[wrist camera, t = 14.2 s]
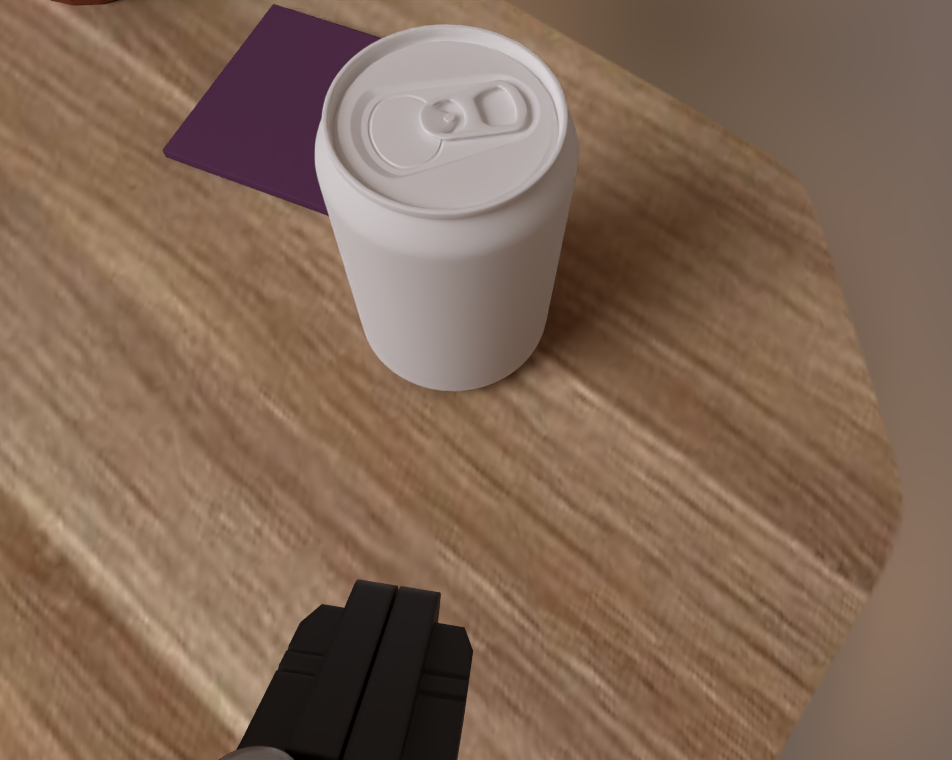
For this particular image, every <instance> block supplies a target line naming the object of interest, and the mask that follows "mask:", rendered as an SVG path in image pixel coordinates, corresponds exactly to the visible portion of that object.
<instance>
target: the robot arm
mask: <svg viewBox="0 0 952 760" xmlns="http://www.w3.org/2000/svg"><path fill="white" fill-rule="evenodd" d="M440 598H441V593H440V592H434V591H428V590H422V589H415V588H409V587H403V586H400V588H399V590H398V586H396V585H390V584H384V583H377V582H371V581H365V580H359V579H358V580H357V581H356V582H355V584H354V586H353V589H352V591H351V594H350V596H349V598H348V601H347V603H346V605H345V608H342V607H336V606H330V605H324V604H322V605H320V606H319V607H318V608H317V609H316V610H314V611H313V612H312V613H311V614H310V615H309V616H307V617H306V618H305V619H304V620H303V621H301V622H300V624H299V626H298V628H297V630H296V632H295V634H294V636H293V638H292V640H291V642H290V644H289V647H288V651H286V652H285V654H284V656H283V658H282V660H281V662H280V664H279V668H278V671H277V670H276V672H275V674H274V676H273V678H272V680H271V682H270V684H269V686H268V688H267V690H266V692H265V694H264V696H263V698H262V700H261V702H260V704H259V706H258V708H257V710H256V712H255V714H254V716H253V718H252V720H251V722H250V724H249V726H248V728H247V730H246V732H245V734H244V736H243V738H242V740H241V742H240V744H239V746H238V748H237V749H236V751H233V752H231V753H229V754H227V755H225V756H223V757H222V758H220V759H219V760H457V759H458V752H459V746H460V740H461V733H462V727H463V720H464V713H465V706H466V699H467V692H468V684H469V677H470V670H471V663H472V656H473V649H472V647H471V644H470V641H469V638H468V636H467V633H466V630H465V627H459V626H453V625H446V624H440V623H438V617H439V608H440Z"/></svg>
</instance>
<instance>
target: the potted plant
mask: <svg viewBox="0 0 952 760" xmlns="http://www.w3.org/2000/svg"><path fill="white" fill-rule="evenodd" d="M52 1H57V2H62V3H67V4H72V5H82V4H104V3H108V2H112V1H116V0H52Z"/></svg>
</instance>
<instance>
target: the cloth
mask: <svg viewBox="0 0 952 760" xmlns="http://www.w3.org/2000/svg"><path fill="white" fill-rule="evenodd" d="M380 39H382V38H379V37H376V36H373V35H370V34H367V33H363V32H360V31H357V30H354V29H351V28H348V27H344V26H341V25H338V24H335V23H332V22H329V21H326V20H322V19H319V18H316V17H313V16H310V15H307V14H303V13H300V12H297V11H294V10H291V9H288V8H284V7H281V6H278V5H275V4H273V5H272V6H271V8H270V9H269V10H268V12H267V13H266V14H265V16H264V17H263V18H262V20H261V21H260V22H259V24H258V25H257V26H256V28H255V29H254V30H253V31H252V33H251V34H250V35H249V37H248V38H247V39H246V41H245V42H244V43H243V45H242V46H241V47H240V49H239V50H238V51H237V53H236V54H235V55H234V57H233V58H232V59H231V60H230V62H229V63H228V64H227V66H226V67H225V68H224V70H223V71H222V72H221V74H220V75H219V76H218V78H217V79H216V80H215V82H214V83H213V84H212V85H211V87H210V88H209V89H208V91H207V92H206V93H205V95H204V96H203V97H202V99H201V100H200V101H199V103H198V104H197V105H196V107H195V108H194V109H193V111H192V112H191V113H190V114H189V116H188V117H187V118H186V120H185V121H184V122H183V124H182V125H181V126H180V128H179V129H178V130H177V132H176V133H175V134H174V136H173V137H172V138H171V139H170V141H169V142H168V143H167V145H166V146H165V147H164V149H163V152H164V154H165V156H166V157H168V158H171V159H173V160H176V161H179V162H182V163H185V164H187V165H190V166H193V167H196V168H198V169H201V170H204V171H207V172H209V173H212V174H215V175H218V176H220V177H223V178H226V179H229V180H231V181H234V182H237V183H240V184H243V185H245V186H248V187H251V188H254V189H256V190H259V191H262V192H265V193H267V194H270V195H273V196H276V197H278V198H281V199H284V200H287V201H289V202H292V203H295V204H298V205H301V206H303V207H306V208H309V209H312V210H314V211H317V212H320V213H323V214H325V215H328V211H327V208H326V205H325V201H324V198H323V195H322V192H321V188H320V185H319V181H318V178H317V173H316V167H315V142H316V136H317V131H318V127H319V124H320V121H321V119H322V110H323V105H324V101H325V98H326V95H327V92H328V90H329V88H330V86H331V84H332V82H333V80H334V79H335V77H336V75H337V74H338V73H339V71H340V70H341V69H342V68H343V67H344V65H345V64H346V63H347V62H348V61H349V60H350V59H351V58H353V57H354V56H355V55H356V54H357V53H359V52H360V51H361V50H363V49H364V48H366V47H367V46H369V45H370V44H372V43H374V42H376V41H378V40H380ZM328 216H329V215H328Z"/></svg>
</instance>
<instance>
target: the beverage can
mask: <svg viewBox="0 0 952 760" xmlns="http://www.w3.org/2000/svg"><path fill="white" fill-rule="evenodd" d="M578 157H579V150H578V139H577V134H576V129H575V126H574V123H573V120H572V117H571V115H570V112H569V110H568V107H567V102H566V98H565V95H564V92H563V90H562V87H561V85H560V83H559V81H558V79H557V78H556V76H555V75H554V73H553V72H552V71H551V69H550V68H549V67H548V66H547V64H546V63H545V62H544V61H543V60H542V59H541V58H540V57H538V56H537V55H536V54H535V53H534V52H532V51H531V50H530V49H528V48H527V47H525V46H524V45H522V44H520V43H519V42H517V41H515V40H513V39H511V38H509V37H506V36H504V35H502V34H499V33H496V32H493V31H490V30H486V29H482V28H478V27H472V26H465V25H451V24H443V25H428V26H421V27H416V28H411V29H407V30H403V31H400V32H397V33H394V34H391V35H389V36H386V37H384V38H382V39H380V40H378V41H376V42H374V43H372V44H370V45H369V46H367V47H366V48H364V49H363V50H361V51H360V52H359V53H357V54H356V55H355V56H354V57H353V58H351V59H350V60H349V61H348V62H347V63H346V64H345V65H344V67H343V68H342V69H341V70H340V71H339V73H338V74H337V75H336V77H335V79H334V80H333V82H332V84H331V86H330V88H329V90H328V92H327V95H326V98H325V101H324V105H323V110H322V119H321V121H320V124H319V127H318V131H317V136H316V142H315V167H316V173H317V178H318V181H319V185H320V188H321V192H322V195H323V198H324V201H325V205H326V208H327V211H328V215H329V218H330V221H331V224H332V228H333V231H334V234H335V237H336V241H337V244H338V247H339V251H340V254H341V257H342V260H343V264H344V267H345V270H346V273H347V277H348V280H349V283H350V287H351V290H352V293H353V296H354V300H355V303H356V306H357V310H358V313H359V316H360V319H361V323H362V326H363V329H364V332H365V335H366V337H367V340H368V342H369V344H370V346H371V348H372V349H373V351H374V352H375V354H376V355H377V356H378V358H379V359H380V360H381V361H382V362H383V363H384V364H385V365H386V366H387V367H388V368H389V369H390V370H392V371H393V372H394V373H396V374H397V375H399V376H400V377H402V378H404V379H405V380H407V381H409V382H412V383H414V384H417V385H419V386H422V387H426V388H430V389H435V390H441V391H465V390H472V389H477V388H481V387H484V386H487V385H490V384H493V383H495V382H497V381H499V380H501V379H503V378H505V377H507V376H508V375H510V374H511V373H513V372H514V371H515V370H517V369H518V368H519V367H520V366H521V365H522V364H523V363H524V362H525V361H526V360H527V359H528V358H529V357H530V356H531V354H532V353H533V352H534V350H535V349H536V347H537V345H538V343H539V341H540V339H541V337H542V334H543V332H544V328H545V325H546V320H547V315H548V311H549V306H550V301H551V296H552V291H553V286H554V281H555V276H556V271H557V266H558V262H559V257H560V252H561V247H562V242H563V237H564V232H565V227H566V222H567V218H568V213H569V208H570V203H571V198H572V193H573V188H574V183H575V178H576V173H577V168H578Z"/></svg>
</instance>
